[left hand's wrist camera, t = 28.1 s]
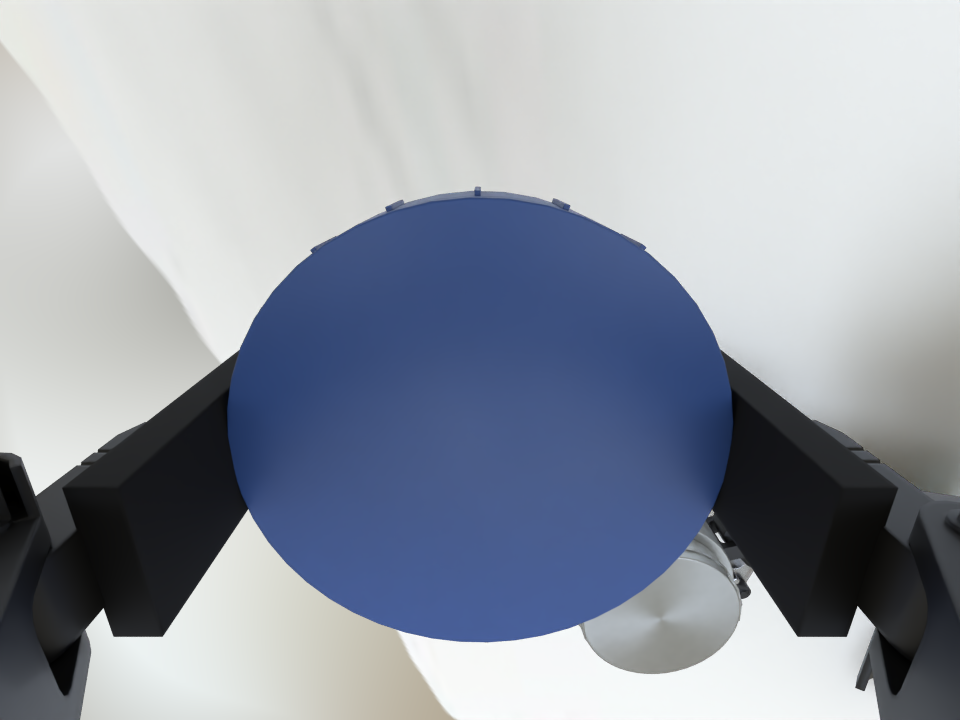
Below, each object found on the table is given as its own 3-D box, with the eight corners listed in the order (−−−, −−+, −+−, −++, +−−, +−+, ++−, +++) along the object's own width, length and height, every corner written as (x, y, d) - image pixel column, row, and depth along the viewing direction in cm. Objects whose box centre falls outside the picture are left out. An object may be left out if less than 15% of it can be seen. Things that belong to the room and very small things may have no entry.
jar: (572, 506, 45) (625, 703, 29) (517, 431, 43) (540, 600, 26) (665, 456, 43) (778, 636, 27) (614, 374, 41) (704, 519, 24)
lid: (696, 550, 13) (732, 615, 11) (332, 597, 14) (308, 667, 12) (688, 149, 10) (739, 145, 8) (203, 234, 11) (141, 250, 9)
